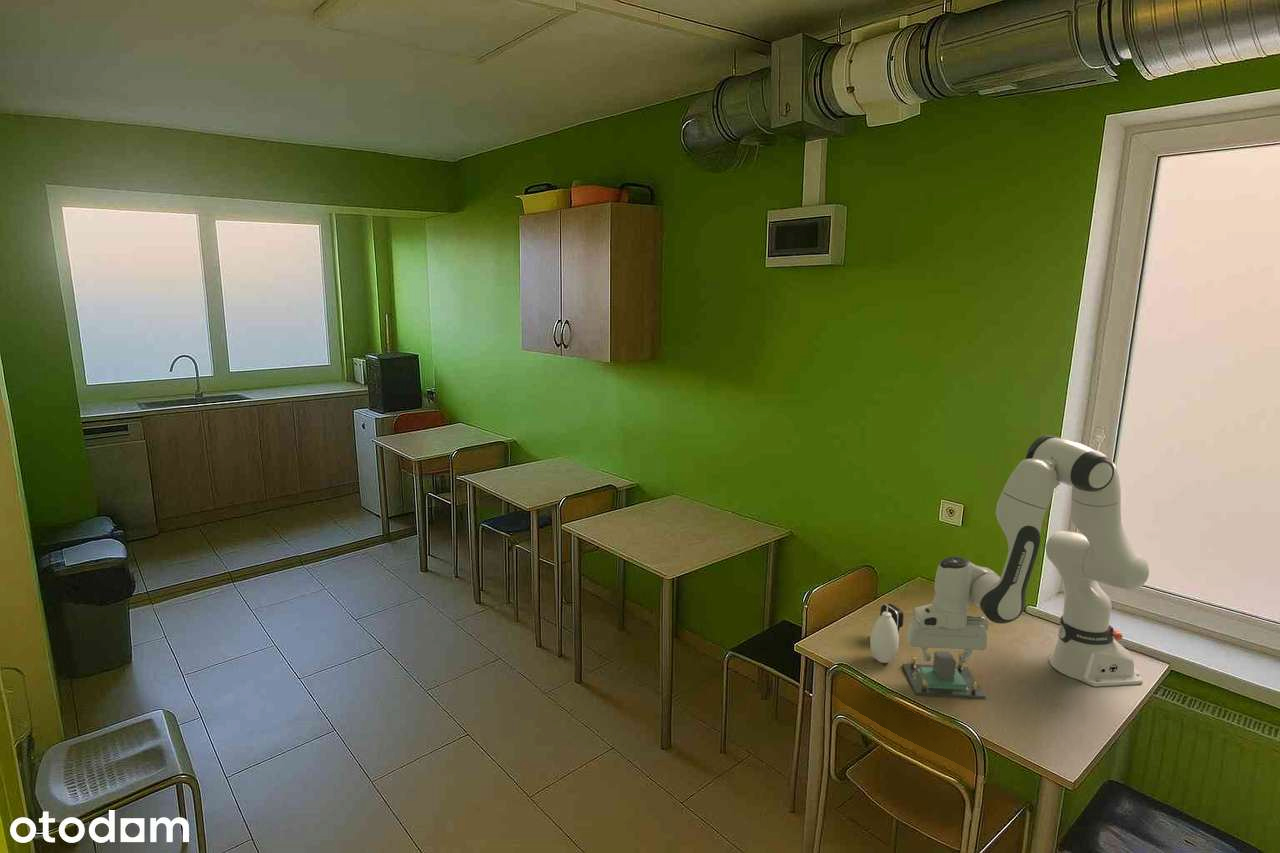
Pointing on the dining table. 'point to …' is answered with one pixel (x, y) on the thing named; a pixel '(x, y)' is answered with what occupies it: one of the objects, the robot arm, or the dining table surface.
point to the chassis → (922, 687)
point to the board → (943, 683)
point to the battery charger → (894, 614)
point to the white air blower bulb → (884, 638)
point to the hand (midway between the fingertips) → (944, 660)
